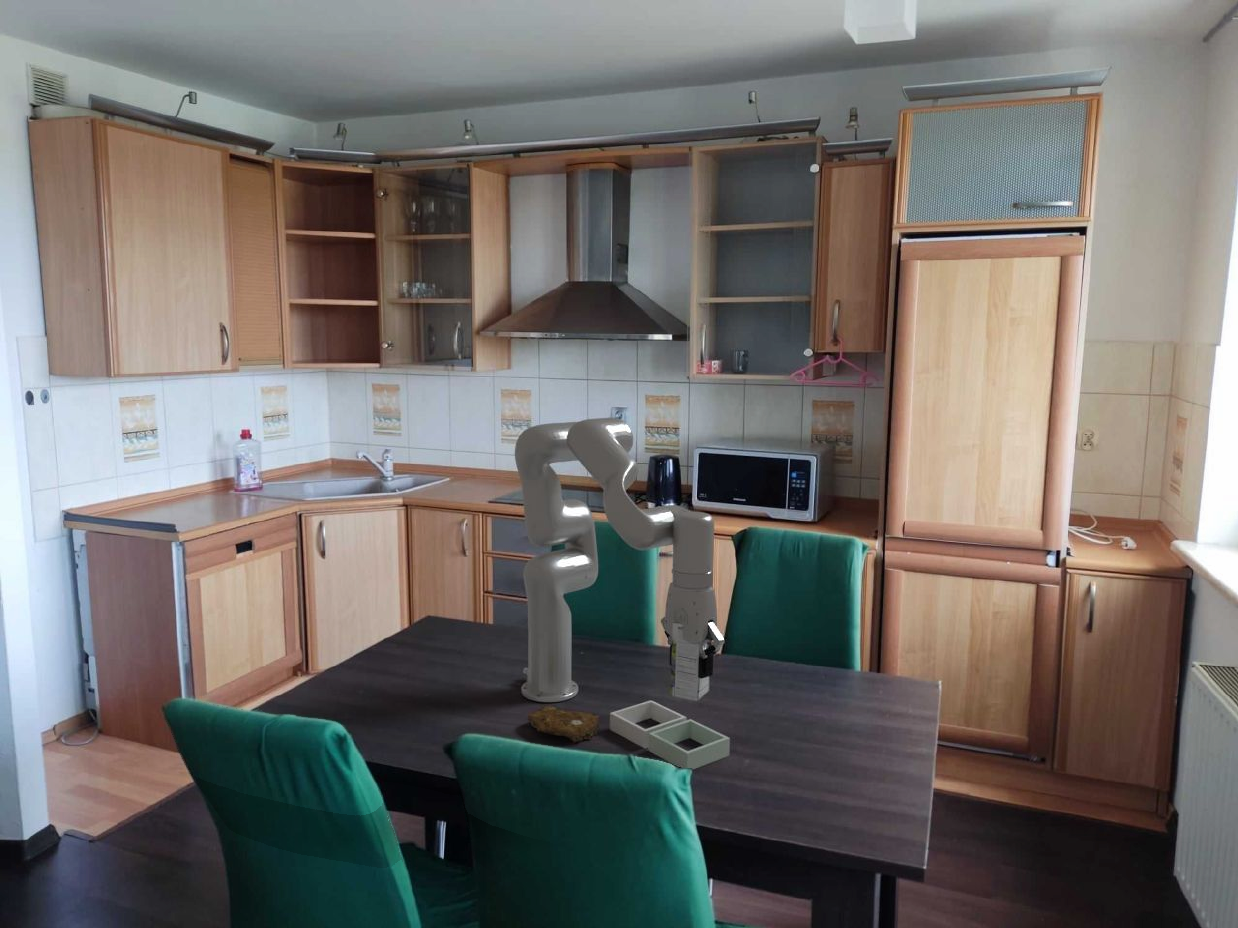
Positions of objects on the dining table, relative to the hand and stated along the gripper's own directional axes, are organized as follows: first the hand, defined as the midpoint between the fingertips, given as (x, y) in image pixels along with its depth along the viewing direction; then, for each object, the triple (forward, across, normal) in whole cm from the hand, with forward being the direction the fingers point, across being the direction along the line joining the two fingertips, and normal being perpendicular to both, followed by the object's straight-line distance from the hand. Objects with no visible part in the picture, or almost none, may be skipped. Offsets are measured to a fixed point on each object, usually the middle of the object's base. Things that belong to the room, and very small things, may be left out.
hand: (690, 669), depth 173 cm
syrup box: (+5, 0, 0) cm, 5 cm away
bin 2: (+17, 0, 0) cm, 17 cm away
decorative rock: (+17, -23, -14) cm, 32 cm away
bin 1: (+16, -12, 0) cm, 20 cm away
